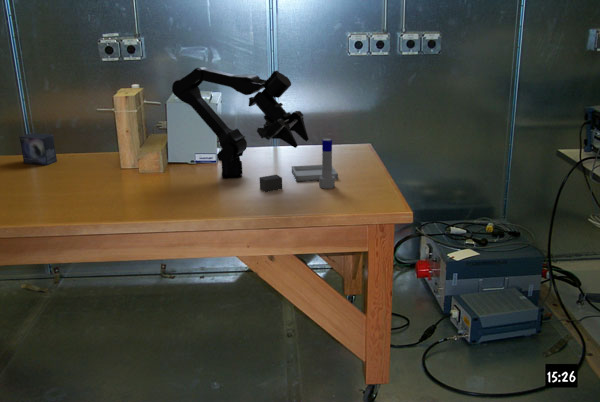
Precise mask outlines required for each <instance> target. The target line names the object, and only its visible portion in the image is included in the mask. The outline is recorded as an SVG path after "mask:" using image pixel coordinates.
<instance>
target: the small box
mask: <svg viewBox="0 0 600 402" xmlns="http://www.w3.org/2000/svg"><path fill="white" fill-rule="evenodd" d="M54 140H55V137H54V134H51V133H50V134H49V133H37V132H29V133H26V134H24V135H21V136H19V141H20V142H19V143H20V148H21V154H22V159H23V164H25V163H26V165H37V166H38V165H39V166H49V165H52V164H54V163H56V162H58V159H57V152H56V144H55V141H54Z"/></svg>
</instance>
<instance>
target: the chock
mask: <svg viewBox="0 0 600 402" xmlns="http://www.w3.org/2000/svg"><path fill="white" fill-rule="evenodd" d="M259 189H260V190H261V189H262V190H261V191H262V192H264V191H265V193H269V192H274V191H273V190H275V191H279V190H278V189H281V190H283V177H281V176H280V175H278V174H272V175H265V176H260V177H259ZM268 191H269V192H268Z"/></svg>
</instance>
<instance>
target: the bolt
mask: <svg viewBox="0 0 600 402" xmlns="http://www.w3.org/2000/svg"><path fill="white" fill-rule="evenodd" d="M321 142H322V143H321V144H322V145H321V150H322V153H321V155H322V160H321V161H322V162H321V163H322V164H321V165H322V176H320V177H319V181H318V182H319V184H318V185H319V188H321V189H323V190H324V189H325V190H329V189H333V188H335V185H336V180H335V177H334V176H332V166H333V155H332V154H333V140H332V138H323V139H321Z"/></svg>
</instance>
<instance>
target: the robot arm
mask: <svg viewBox="0 0 600 402" xmlns="http://www.w3.org/2000/svg"><path fill="white" fill-rule="evenodd" d="M203 82H207V83H211V84H216V85H220V86H225V87H228V88H231V89H233V90H235V92H238V93H239V94H242V95H245V96H249V95H252V94H255V95H254V96H251V97H248V107H252V106H255V105H256V106H257V107H258V109H259V110H260V111H261V112H262V113H263V114H264V116H263V119H264V121H265V122H264V123H265V124H263V126H258V127H257V129H256V132H257V134H258V136H260V138H261V139H266V140H268V141H270V140H271V139H272V140H275V139H276V140H277V139H279V140H281V141H283V142H285V143H287V144H288V145H290V146H291V147H293V148H295V149H296V148H298V146H299V144H298V143H297V141H296V138H295V137H294V134H293V133H292V132H295V133H296V134H297V136H299V137H300V138H301V139H302V140H303V141H305V142H308V141H309V140H310V139H309V136H308V133H307V129H306V126H305V122H304V121H305V120H304V118H305V117H304V114H303V113H302V112H301V110H295V111H293V112H292V113H291V112H287V111H286V110H285V109H284V108H283V106H284V104H283V103H282V102H278V101H277V100H276V99H275V98H277V99H279V98H281V97H282V96H283V94H284V93H285V92H286V91H287V90H288V89H289V88H290V87H291V86H292V82H291V79H290V78H289V77H288V76H285V75H284V74H283V73H281V72H279V71H278V70H274V71H273V72H271V75H270V76H268V78H267V79H263V78H260V76H258V75H256V74H235V73H230V72H225V71H221V70H217V69H212V68H208V67H206V66H200V67H195V68H194V69H193V70H192V71H191V72H190V73H188V74H187V75H185V76H183V77H182V78H181V79H177V80H175V81H174V82H173V83H172V85H171V86H172V87H171V89H172V90H171V91H172V94H173V95H174V96H175V97H176V98H177V99H178V100H180V101H181V102H182V103H185V104H187V105H188V106H190V107H191V108H192V109H193V111H195V112H196V114H197V115H198V116H199V117H200V118H201V119H202V120H203V122H204V123H205V124H206V126H208V128H209V129H210V130H211V131H212V132H213V134H215V136H216V137H217V140H218V143H219V145H220V147H221V150H220V151H219V152H218V153H217V154H216V156H217V160H218V161H219V162H221V178H222V179H237V178H242V175H243V162H242V160H241V157H243V154H244V152H245V151H246V150H247V144H248V141H247V139H246V136H245V135H243V134H242V133H241V131H240V129H238V128H234V129H231V128H230V127H228V125H227V124H226V123H225V122H224V121H223V119H222V118H221V117H220V116H219V115H218V114H217V113H216V111H215V110H214V109H213V108H212V107H211V106H210V104H208V102H207V101H206V100H205V99H204V98H203V96H202V93H201V90H200V88H199V86H200V85H201V84H202V83H203ZM262 89H263V90H262ZM261 90H262V91H261Z"/></svg>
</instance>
